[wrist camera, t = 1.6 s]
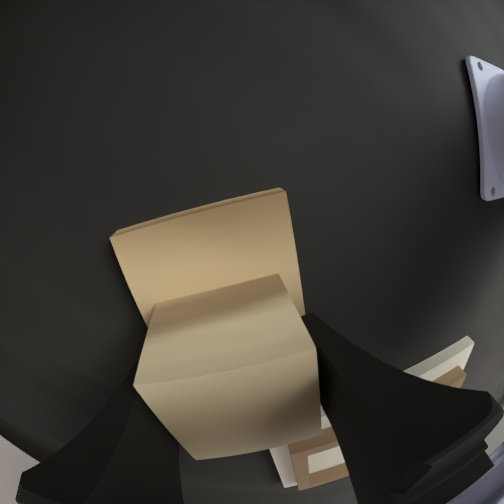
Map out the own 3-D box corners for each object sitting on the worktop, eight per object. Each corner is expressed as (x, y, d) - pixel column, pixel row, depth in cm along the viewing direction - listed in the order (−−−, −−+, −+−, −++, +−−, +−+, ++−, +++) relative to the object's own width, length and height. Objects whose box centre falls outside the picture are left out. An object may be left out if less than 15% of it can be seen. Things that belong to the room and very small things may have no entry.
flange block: (120, 227, 9) (53, 297, 5) (277, 186, 10) (340, 225, 5) (199, 400, 13) (202, 483, 8) (307, 376, 13) (339, 454, 9)
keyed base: (466, 335, 15) (483, 351, 13) (427, 422, 20) (436, 436, 18) (260, 419, 14) (266, 448, 12) (282, 479, 19) (287, 497, 17)
